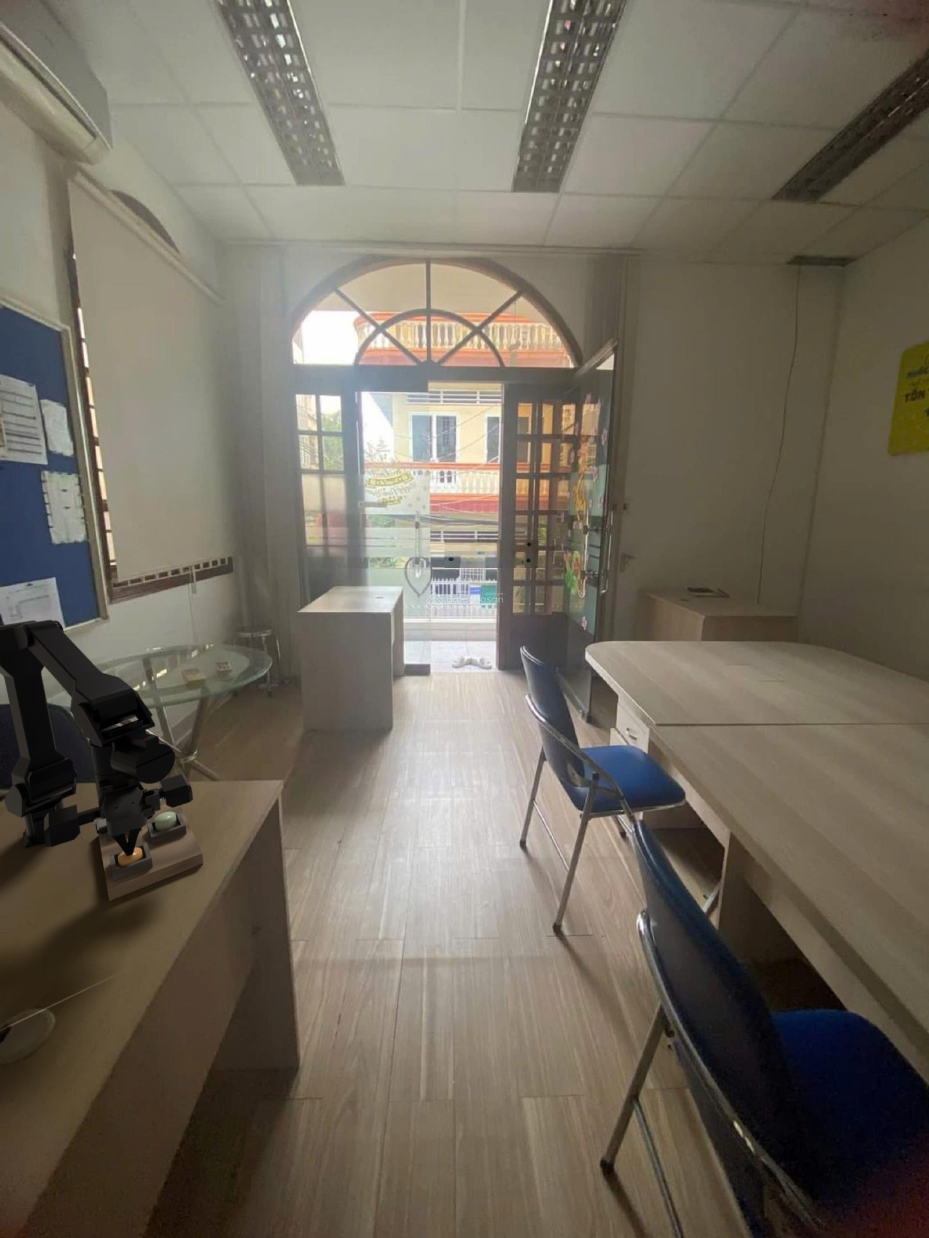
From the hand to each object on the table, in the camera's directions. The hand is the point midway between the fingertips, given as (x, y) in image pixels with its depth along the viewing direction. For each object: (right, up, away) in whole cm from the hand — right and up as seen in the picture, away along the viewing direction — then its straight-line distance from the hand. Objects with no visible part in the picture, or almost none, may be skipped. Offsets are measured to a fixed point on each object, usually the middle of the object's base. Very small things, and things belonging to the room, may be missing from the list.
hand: (129, 854), depth 79 cm
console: (-2, -3, +7) cm, 8 cm away
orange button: (0, -2, 0) cm, 2 cm away
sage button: (+1, +1, +8) cm, 8 cm away
